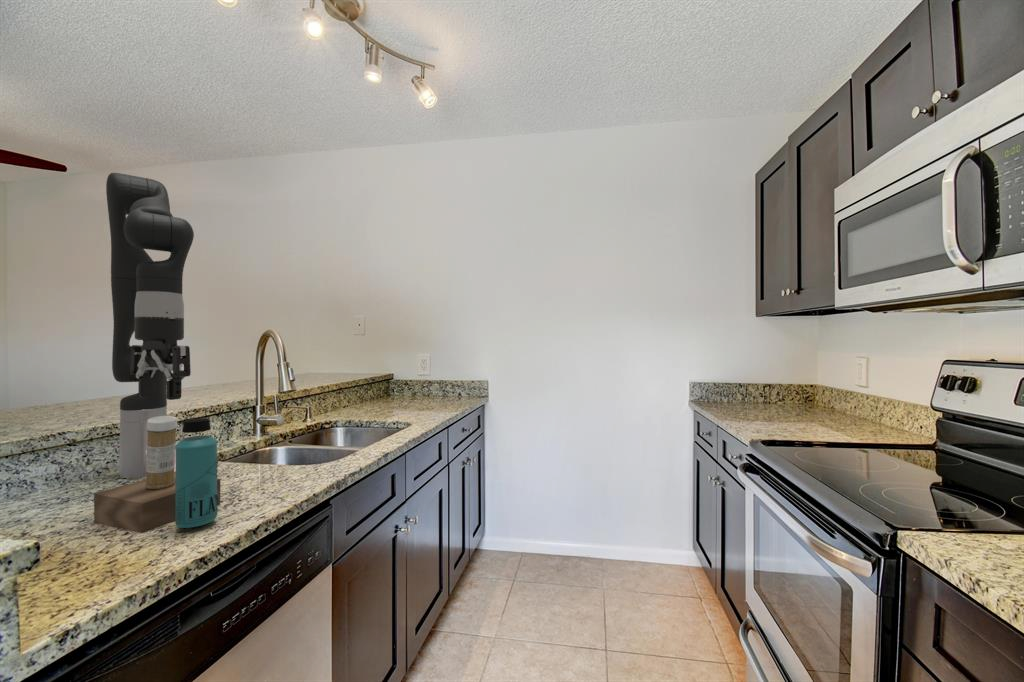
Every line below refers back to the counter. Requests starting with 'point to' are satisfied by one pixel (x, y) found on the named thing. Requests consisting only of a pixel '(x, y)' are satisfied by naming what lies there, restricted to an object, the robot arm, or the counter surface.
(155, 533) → the counter surface
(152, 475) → the brown spice jar
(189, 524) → the beverage bottle
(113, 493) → the walnut block
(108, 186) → the robot arm
